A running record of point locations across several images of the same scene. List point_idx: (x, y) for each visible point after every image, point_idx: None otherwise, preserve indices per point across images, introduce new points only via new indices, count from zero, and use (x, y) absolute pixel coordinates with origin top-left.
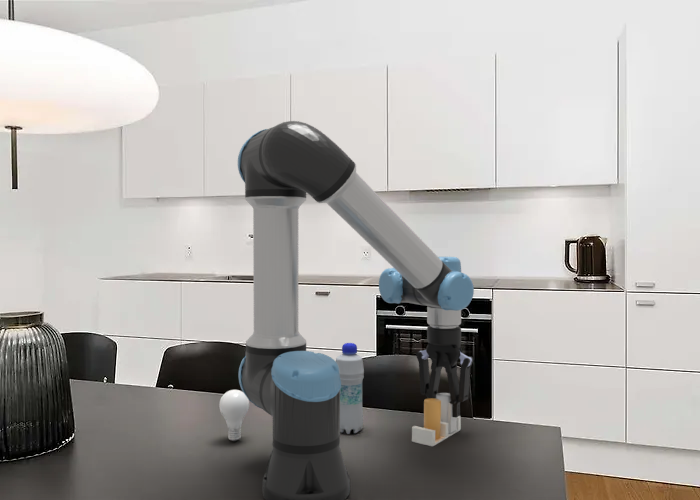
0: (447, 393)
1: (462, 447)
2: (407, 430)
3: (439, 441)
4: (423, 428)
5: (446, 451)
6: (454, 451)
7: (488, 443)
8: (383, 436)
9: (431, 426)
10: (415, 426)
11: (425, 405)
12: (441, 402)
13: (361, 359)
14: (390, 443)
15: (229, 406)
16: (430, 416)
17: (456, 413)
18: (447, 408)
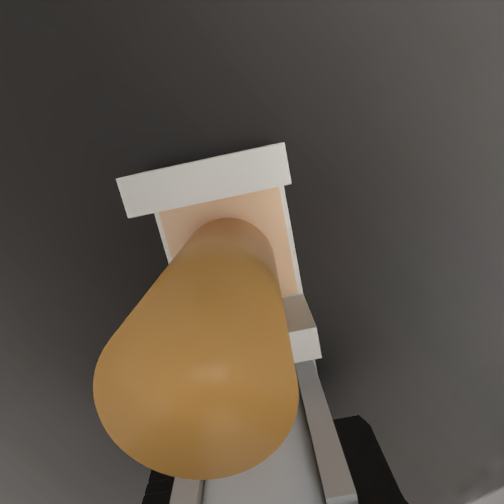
0: None
1: (43, 281)
2: (409, 262)
3: (165, 250)
4: (209, 186)
5: (45, 173)
6: (21, 206)
7: (16, 406)
8: (456, 78)
9: (186, 245)
10: (278, 175)
11: (226, 289)
12: (240, 498)
13: None
14: (346, 13)
15: None
16: (176, 262)
17: (152, 477)
18: (208, 480)
